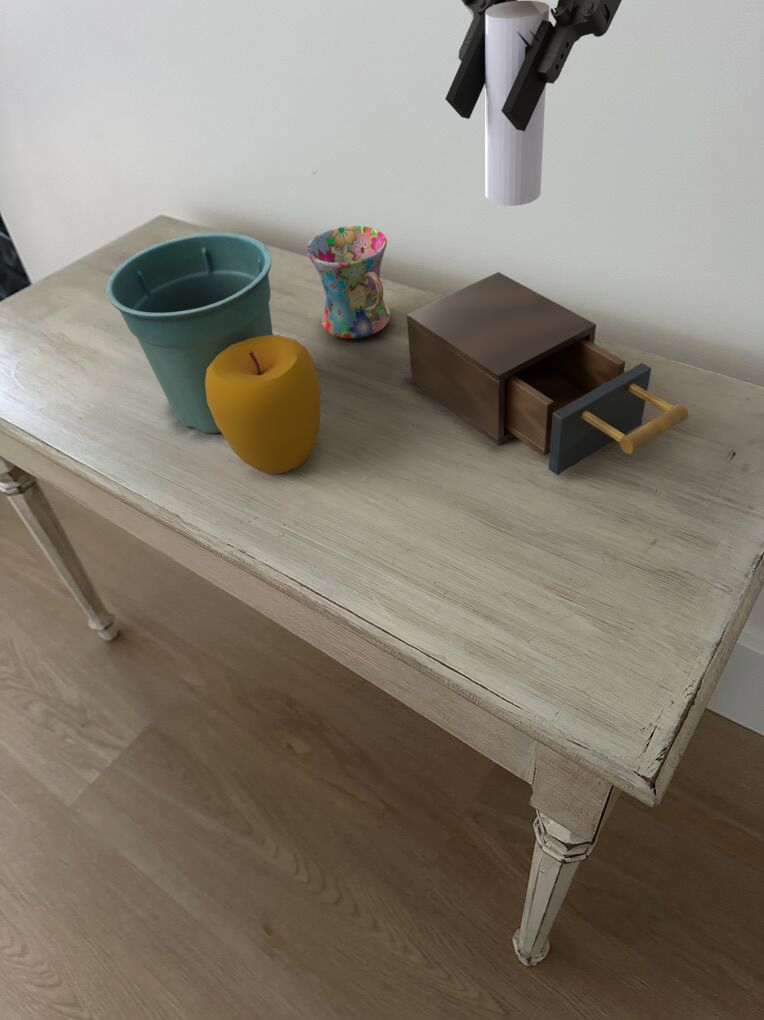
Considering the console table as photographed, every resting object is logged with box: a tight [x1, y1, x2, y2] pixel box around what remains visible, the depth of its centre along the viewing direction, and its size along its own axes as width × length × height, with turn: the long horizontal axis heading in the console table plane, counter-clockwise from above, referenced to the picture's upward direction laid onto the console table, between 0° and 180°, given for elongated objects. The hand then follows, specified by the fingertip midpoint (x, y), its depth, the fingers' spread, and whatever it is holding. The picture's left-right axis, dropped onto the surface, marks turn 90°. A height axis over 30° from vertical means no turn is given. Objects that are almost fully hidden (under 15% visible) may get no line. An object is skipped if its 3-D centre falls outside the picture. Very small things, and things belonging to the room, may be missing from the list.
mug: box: [306, 225, 391, 340], centre depth 93 cm, size 12×9×11 cm
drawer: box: [504, 338, 690, 476], centre depth 76 cm, size 20×11×7 cm, turn 35°
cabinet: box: [406, 271, 597, 446], centre depth 83 cm, size 15×13×9 cm
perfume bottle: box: [484, 0, 550, 207], centre depth 59 cm, size 6×6×20 cm
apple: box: [205, 334, 321, 475], centre depth 77 cm, size 11×11×13 cm
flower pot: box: [105, 232, 274, 434], centre depth 84 cm, size 16×16×16 cm
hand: (484, 114), depth 59 cm, fingers closed on perfume bottle, 4 cm apart
